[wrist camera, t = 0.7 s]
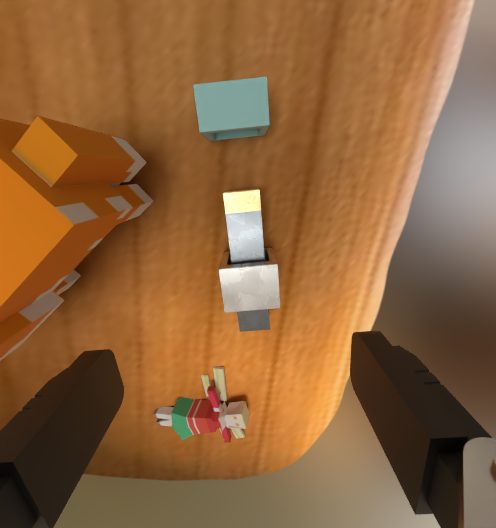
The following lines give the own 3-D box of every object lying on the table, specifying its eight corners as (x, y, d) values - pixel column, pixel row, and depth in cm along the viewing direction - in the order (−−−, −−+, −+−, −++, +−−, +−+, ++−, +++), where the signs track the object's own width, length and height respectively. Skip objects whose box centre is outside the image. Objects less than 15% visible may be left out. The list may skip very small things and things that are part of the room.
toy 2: (133, 391, 37) (232, 384, 34) (146, 371, 41) (237, 363, 38) (165, 460, 42) (255, 459, 39) (175, 437, 45) (258, 434, 42)
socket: (264, 135, 28) (269, 125, 22) (210, 141, 28) (199, 132, 22) (262, 98, 27) (266, 76, 21) (205, 104, 27) (192, 84, 21)
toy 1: (-25, 286, 34) (-368, 428, 15) (118, 115, 27) (-171, -13, 8) (43, 335, 36) (-177, 510, 18) (188, 190, 30) (87, 221, 11)
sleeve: (274, 283, 34) (280, 307, 28) (228, 287, 34) (224, 312, 28) (272, 247, 32) (277, 264, 26) (224, 251, 32) (218, 269, 26)
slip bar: (267, 313, 34) (269, 329, 31) (240, 315, 34) (239, 331, 31) (258, 187, 29) (259, 189, 25) (225, 191, 29) (223, 193, 25)
